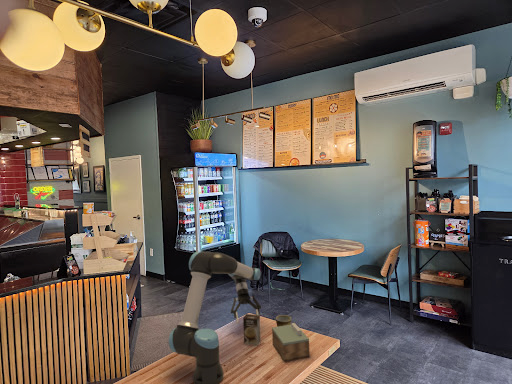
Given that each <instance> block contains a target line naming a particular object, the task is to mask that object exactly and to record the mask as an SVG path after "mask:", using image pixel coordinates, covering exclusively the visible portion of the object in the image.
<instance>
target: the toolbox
mask: <svg viewBox="0 0 512 384" xmlns="http://www.w3.org/2000/svg"><path fill="white" fill-rule="evenodd" d="M271 334H272V335H271V336H272V346H273V347H274V349H275V350H276V352H277V353H278V355H279V357H280V358H281V360H282V362H283V363H285V362H291V361H297V360H302V359H307V358H310V340H309V341H306V342H301V343H295V344H289V345H283V344H282V343H281V341H280V340H279V339H278V337H277V336H276V334H275V333H274V331H273V330H272V329H271Z"/></svg>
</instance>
